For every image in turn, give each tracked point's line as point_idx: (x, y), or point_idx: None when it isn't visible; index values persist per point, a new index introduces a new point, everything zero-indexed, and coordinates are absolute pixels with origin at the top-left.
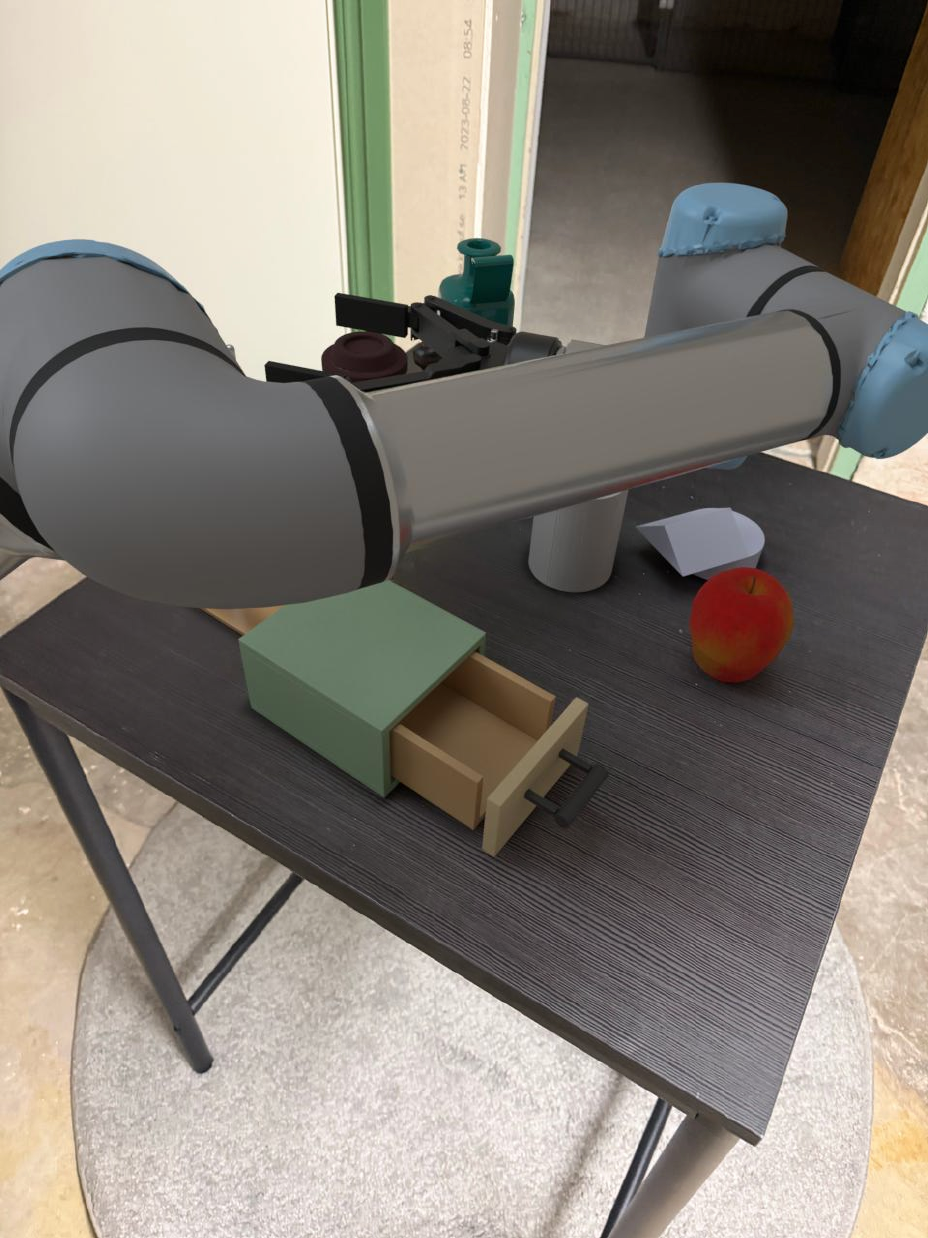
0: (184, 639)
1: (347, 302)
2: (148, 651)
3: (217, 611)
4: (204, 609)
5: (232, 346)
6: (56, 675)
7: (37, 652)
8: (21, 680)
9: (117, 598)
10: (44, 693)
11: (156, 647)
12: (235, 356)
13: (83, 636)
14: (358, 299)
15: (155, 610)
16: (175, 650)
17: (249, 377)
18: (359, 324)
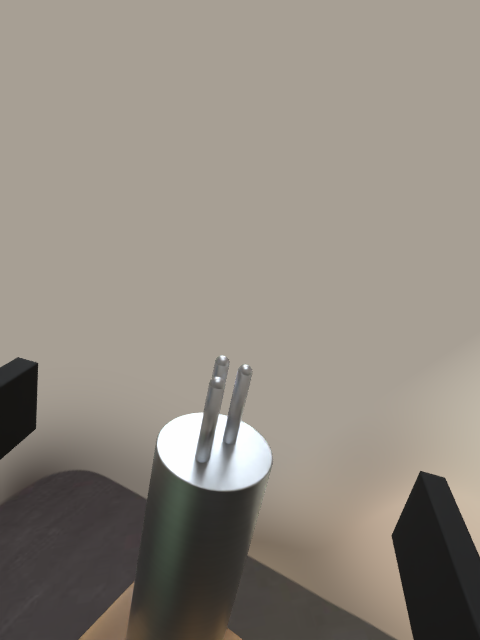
0: (53, 606)
1: (425, 509)
2: (43, 571)
3: (89, 635)
4: (99, 618)
5: (217, 382)
6: (33, 502)
7: (69, 484)
8: (36, 481)
9: (135, 528)
10: (12, 498)
11: (48, 578)
12: (216, 400)
13: (83, 511)
14: (443, 528)
15: (111, 565)
16: (36, 599)
17: (268, 468)
18: (412, 588)
